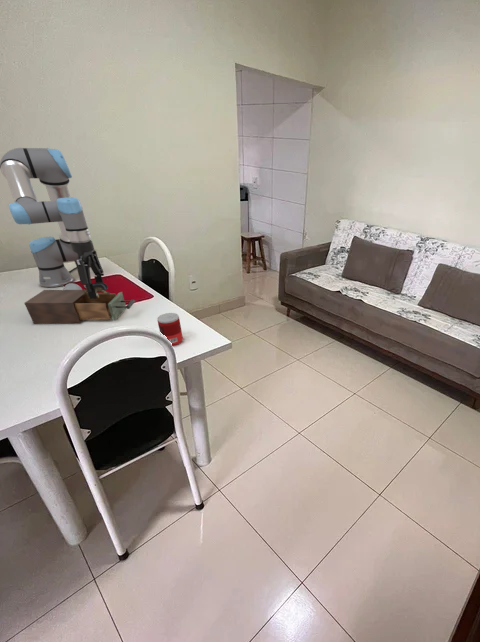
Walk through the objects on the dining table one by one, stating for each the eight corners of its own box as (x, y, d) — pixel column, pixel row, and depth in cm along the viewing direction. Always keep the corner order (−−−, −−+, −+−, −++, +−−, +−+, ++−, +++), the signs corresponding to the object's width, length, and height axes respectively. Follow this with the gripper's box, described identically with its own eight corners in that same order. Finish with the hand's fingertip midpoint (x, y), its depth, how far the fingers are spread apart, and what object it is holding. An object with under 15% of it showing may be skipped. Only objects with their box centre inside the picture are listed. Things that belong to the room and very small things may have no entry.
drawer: (139, 307, 153) (135, 292, 149) (130, 320, 142) (125, 304, 138) (87, 308, 151) (81, 292, 147) (73, 321, 140) (66, 304, 136)
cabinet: (94, 309, 152) (88, 289, 147) (80, 323, 140) (72, 302, 135) (52, 309, 150) (44, 289, 145) (33, 324, 139) (24, 303, 133)
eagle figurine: (89, 299, 136) (111, 291, 140) (79, 284, 134) (101, 276, 138) (91, 303, 143) (111, 294, 147) (81, 288, 141) (102, 280, 145)
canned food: (187, 338, 133) (182, 314, 127) (174, 348, 126) (169, 323, 120) (171, 335, 135) (166, 311, 129) (158, 344, 128) (152, 319, 122)
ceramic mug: (63, 304, 155) (57, 289, 151) (67, 298, 162) (62, 283, 158) (88, 303, 158) (83, 288, 154) (91, 296, 165) (87, 282, 161)
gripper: (78, 247, 121) (96, 304, 133) (101, 234, 138) (116, 285, 150) (56, 247, 120) (77, 304, 132) (83, 234, 137) (99, 285, 150)
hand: (98, 294), depth 141 cm, fingers closed on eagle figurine, 8 cm apart
